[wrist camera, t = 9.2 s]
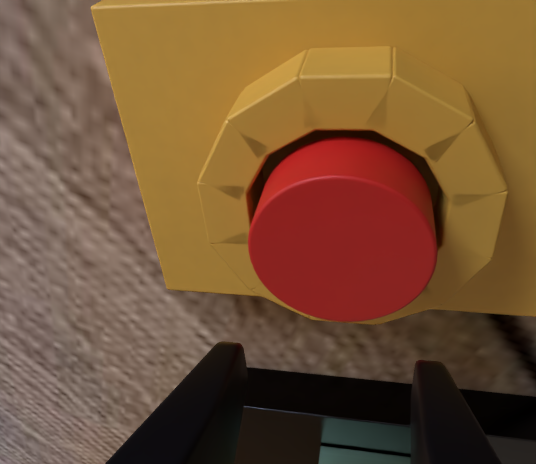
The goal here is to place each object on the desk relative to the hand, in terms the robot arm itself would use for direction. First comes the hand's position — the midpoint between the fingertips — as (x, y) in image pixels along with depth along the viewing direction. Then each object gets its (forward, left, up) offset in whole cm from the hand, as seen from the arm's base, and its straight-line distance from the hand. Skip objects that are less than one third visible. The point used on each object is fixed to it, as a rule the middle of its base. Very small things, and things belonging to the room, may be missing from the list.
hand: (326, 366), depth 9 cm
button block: (0, 0, -8) cm, 8 cm away
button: (0, 0, -5) cm, 5 cm away
